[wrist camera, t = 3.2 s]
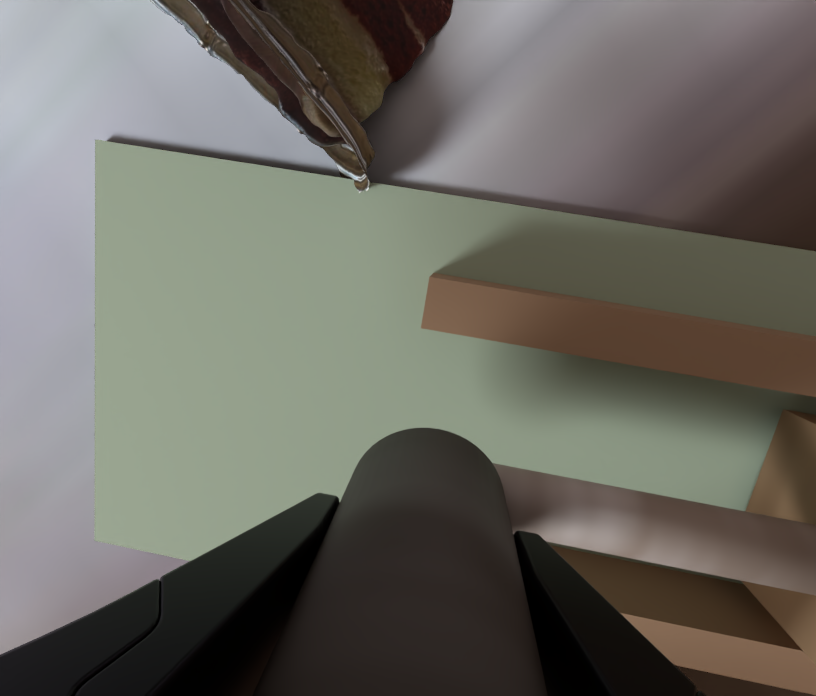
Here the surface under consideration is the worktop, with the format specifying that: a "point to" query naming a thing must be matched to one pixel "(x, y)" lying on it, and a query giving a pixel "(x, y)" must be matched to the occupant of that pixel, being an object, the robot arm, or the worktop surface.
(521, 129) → the worktop surface
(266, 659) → the robot arm
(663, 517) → the sled
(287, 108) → the chocolate cake
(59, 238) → the worktop surface
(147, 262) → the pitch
